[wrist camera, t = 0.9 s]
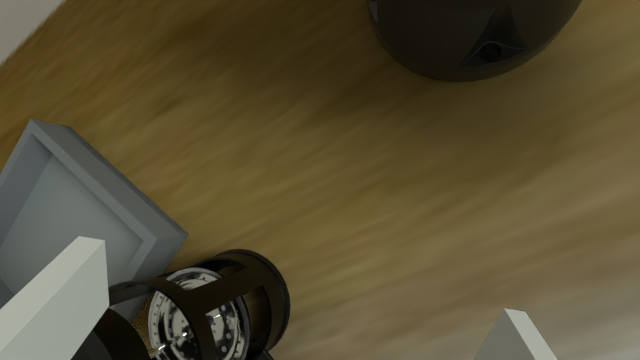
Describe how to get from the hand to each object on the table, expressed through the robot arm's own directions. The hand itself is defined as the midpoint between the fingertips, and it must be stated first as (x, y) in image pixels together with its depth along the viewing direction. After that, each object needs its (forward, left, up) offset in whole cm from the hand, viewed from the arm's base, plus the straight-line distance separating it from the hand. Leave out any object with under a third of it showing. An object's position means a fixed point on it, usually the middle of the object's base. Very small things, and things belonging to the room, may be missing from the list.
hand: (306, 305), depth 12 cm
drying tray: (+20, -24, -17) cm, 35 cm away
